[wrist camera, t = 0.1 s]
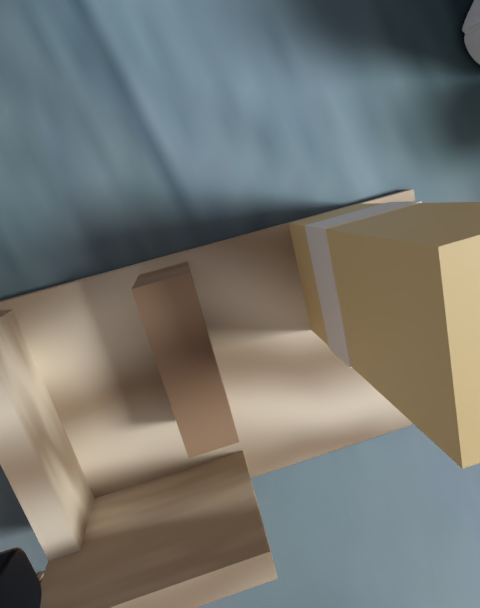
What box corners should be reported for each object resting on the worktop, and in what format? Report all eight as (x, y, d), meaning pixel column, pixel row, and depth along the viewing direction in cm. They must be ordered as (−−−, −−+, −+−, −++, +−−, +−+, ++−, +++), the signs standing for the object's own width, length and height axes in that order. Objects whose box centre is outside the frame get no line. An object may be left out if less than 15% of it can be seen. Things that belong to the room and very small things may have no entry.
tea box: (378, 310, 22) (597, 423, 11) (310, 331, 22) (460, 470, 10) (361, 202, 21) (599, 197, 9) (287, 222, 20) (435, 245, 9)
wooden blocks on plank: (435, 410, 25) (541, 493, 18) (78, 527, 23) (34, 675, 16) (407, 189, 21) (526, 181, 14) (-23, 307, 19) (-142, 368, 12)
